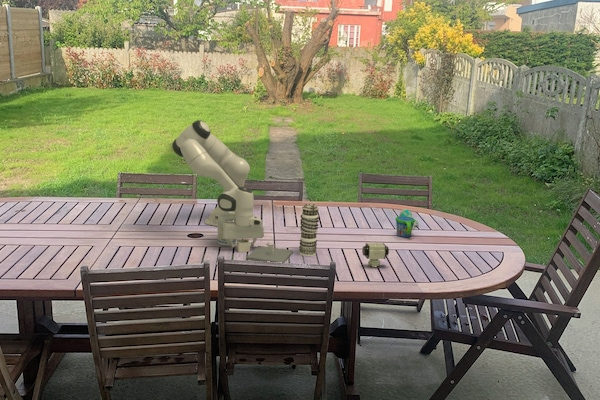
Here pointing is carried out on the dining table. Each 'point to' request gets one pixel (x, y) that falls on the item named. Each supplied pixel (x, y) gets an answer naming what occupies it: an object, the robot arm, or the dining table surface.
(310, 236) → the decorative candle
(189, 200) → the dining table surface
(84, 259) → the dining table surface
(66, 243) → the dining table surface
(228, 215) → the supplement tub
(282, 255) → the grey square panel
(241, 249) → the cream open box
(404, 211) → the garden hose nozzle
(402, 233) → the snack cup
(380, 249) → the pneumatic valve
